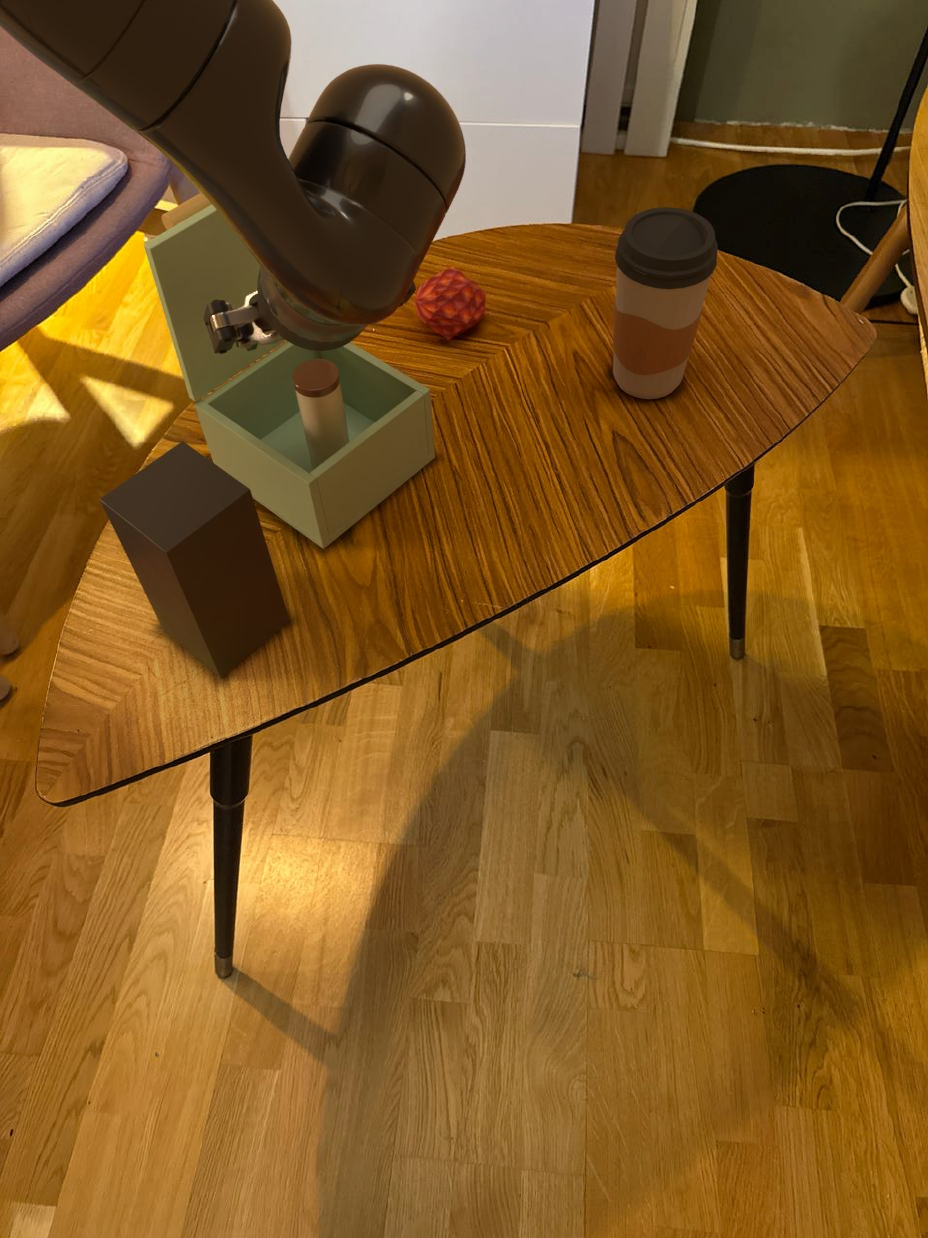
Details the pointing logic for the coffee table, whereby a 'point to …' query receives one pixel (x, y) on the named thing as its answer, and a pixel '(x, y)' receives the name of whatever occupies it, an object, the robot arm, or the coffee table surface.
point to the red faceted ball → (450, 303)
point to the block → (199, 556)
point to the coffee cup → (659, 297)
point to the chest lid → (202, 289)
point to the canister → (321, 408)
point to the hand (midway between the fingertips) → (301, 321)
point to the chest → (277, 449)
